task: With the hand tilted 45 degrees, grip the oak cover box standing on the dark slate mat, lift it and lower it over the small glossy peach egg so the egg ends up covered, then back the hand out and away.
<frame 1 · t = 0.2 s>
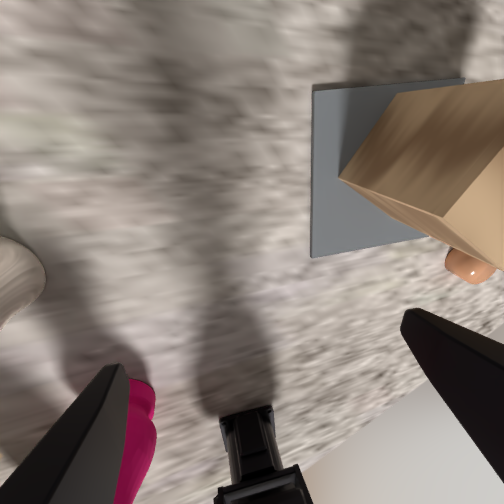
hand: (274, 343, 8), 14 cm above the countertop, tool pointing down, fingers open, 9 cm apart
glossy peach egg: (460, 257, 29), on the countertop
slate mat: (378, 175, 23), on the countertop
cover box: (394, 162, 22), resting on slate mat
pepper mill: (123, 397, 27), on the countertop
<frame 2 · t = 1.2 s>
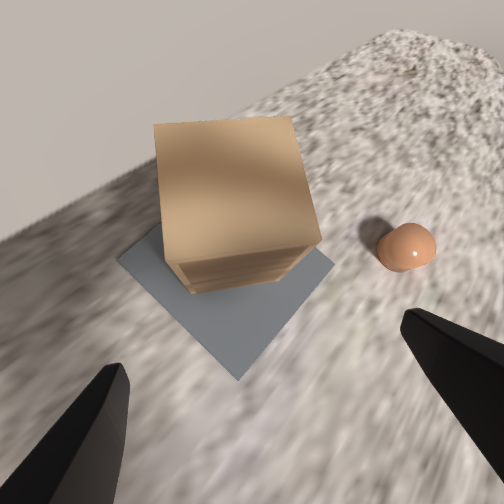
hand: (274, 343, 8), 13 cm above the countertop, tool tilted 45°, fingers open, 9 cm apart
glossy peach egg: (396, 252, 24), on the countertop
slate mat: (230, 263, 22), on the countertop
cover box: (229, 245, 22), resting on slate mat
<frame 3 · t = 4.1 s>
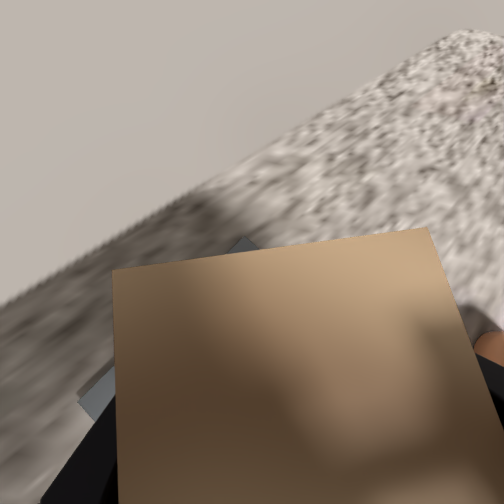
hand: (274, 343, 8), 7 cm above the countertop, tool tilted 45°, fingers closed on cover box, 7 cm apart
glossy peach egg: (501, 362, 16), on the countertop
slate mat: (257, 394, 14), on the countertop
cover box: (256, 366, 14), resting on slate mat, touching gripper
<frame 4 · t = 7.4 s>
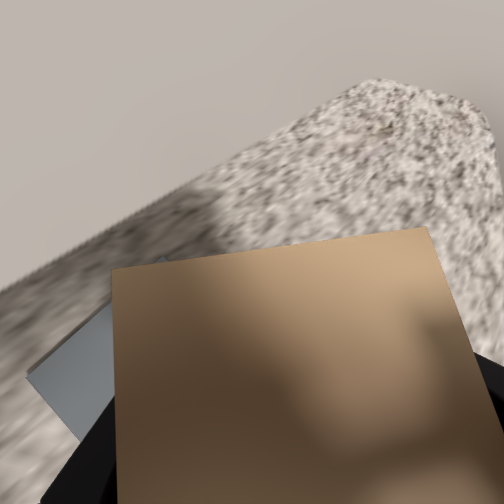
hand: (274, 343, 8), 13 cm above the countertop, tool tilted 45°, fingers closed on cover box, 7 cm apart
slate mat: (162, 375, 19), on the countertop
cover box: (256, 366, 14), point 6 cm above the countertop, touching gripper
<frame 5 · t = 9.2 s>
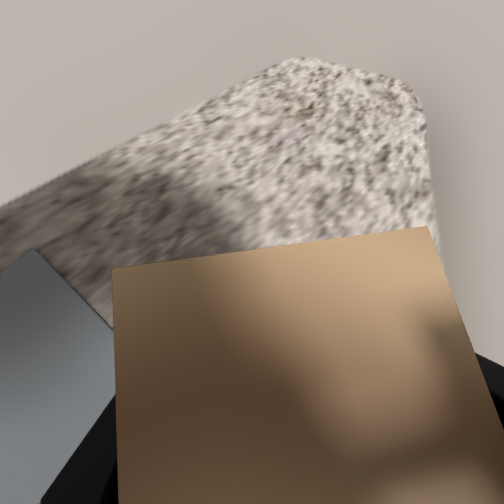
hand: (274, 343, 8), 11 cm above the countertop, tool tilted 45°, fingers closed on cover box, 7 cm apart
slate mat: (17, 382, 17), on the countertop
cover box: (256, 366, 14), point 5 cm above the countertop, touching gripper
when the fingers open (8 cm above the countertop, at t = 10.9 s): cover box stays where it is, on the countertop.
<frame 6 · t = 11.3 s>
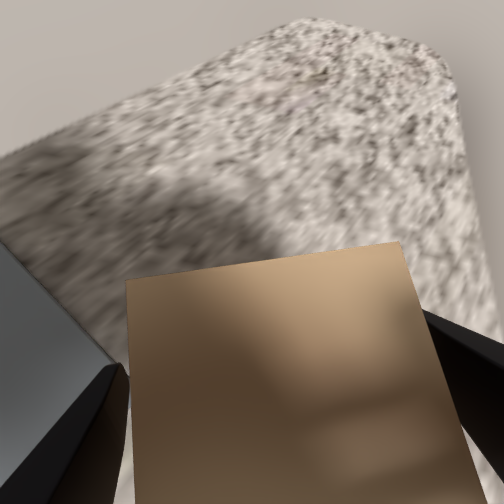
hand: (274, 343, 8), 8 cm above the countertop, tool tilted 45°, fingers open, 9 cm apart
cover box: (253, 364, 15), on the countertop
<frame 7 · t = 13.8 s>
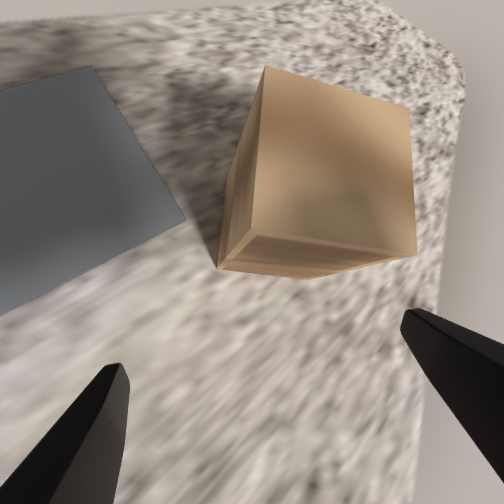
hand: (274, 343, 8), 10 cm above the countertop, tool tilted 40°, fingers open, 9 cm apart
slate mat: (51, 178, 17), on the countertop
cover box: (267, 228, 20), on the countertop
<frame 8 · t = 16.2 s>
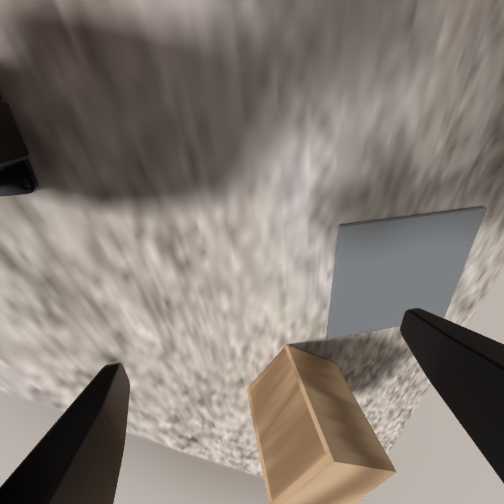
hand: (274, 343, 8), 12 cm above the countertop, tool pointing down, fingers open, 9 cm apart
slate mat: (398, 276, 25), on the countertop
cover box: (291, 376, 29), on the countertop
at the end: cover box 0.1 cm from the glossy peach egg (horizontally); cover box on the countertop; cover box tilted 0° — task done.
